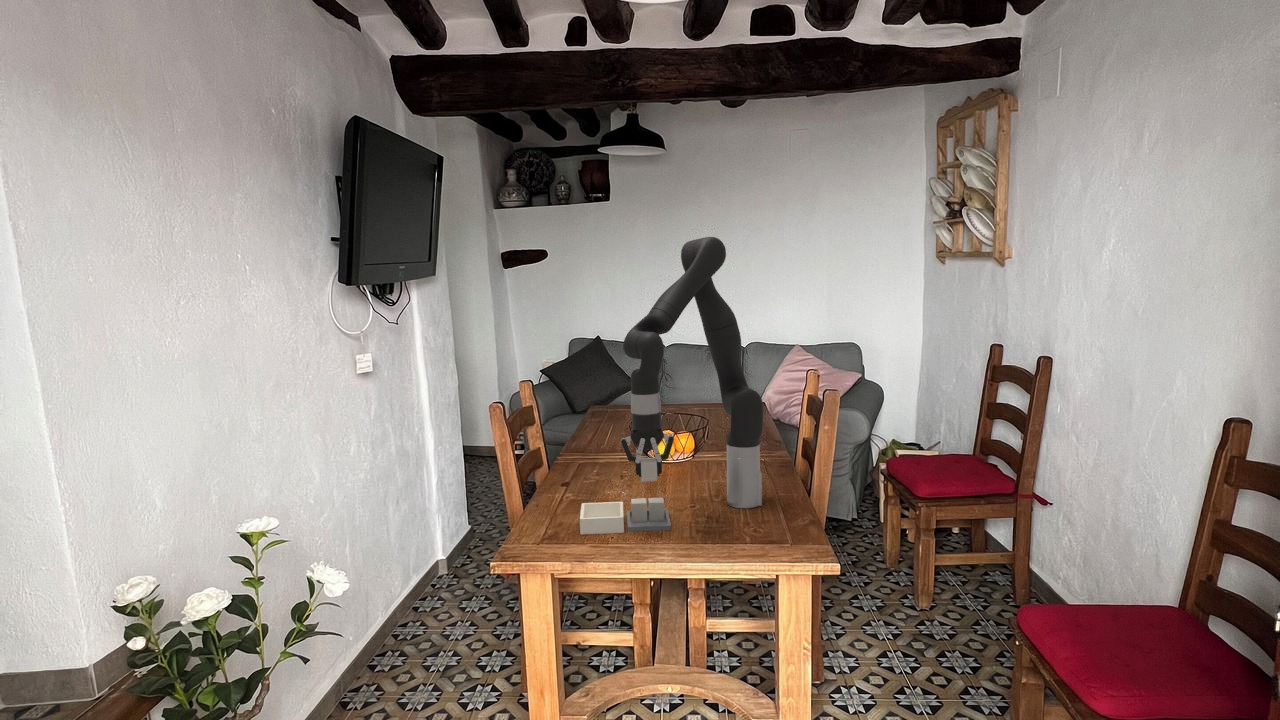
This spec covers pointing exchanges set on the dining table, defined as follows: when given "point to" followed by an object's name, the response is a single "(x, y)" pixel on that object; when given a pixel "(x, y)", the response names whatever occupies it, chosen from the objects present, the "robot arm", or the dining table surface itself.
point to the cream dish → (601, 518)
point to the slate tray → (648, 523)
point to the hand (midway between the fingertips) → (648, 475)
